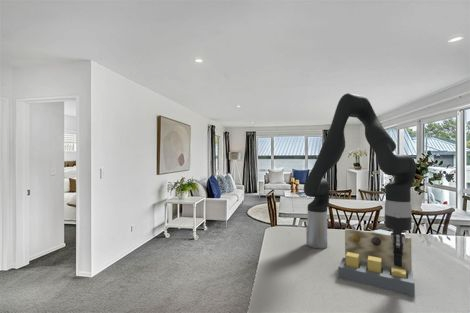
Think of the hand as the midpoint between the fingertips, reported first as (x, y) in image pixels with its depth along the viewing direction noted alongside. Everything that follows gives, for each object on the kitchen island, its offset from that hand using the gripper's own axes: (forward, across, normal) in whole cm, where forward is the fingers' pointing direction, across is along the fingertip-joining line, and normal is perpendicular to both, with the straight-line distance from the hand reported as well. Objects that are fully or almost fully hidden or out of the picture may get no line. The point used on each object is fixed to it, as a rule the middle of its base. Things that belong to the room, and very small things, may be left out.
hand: (397, 265), depth 82 cm
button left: (+4, 0, -14) cm, 14 cm away
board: (+7, 0, -7) cm, 9 cm away
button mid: (+4, 0, -7) cm, 8 cm away
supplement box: (+7, -19, -5) cm, 21 cm away
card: (+7, -11, -7) cm, 15 cm away
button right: (+7, 0, 0) cm, 7 cm away
